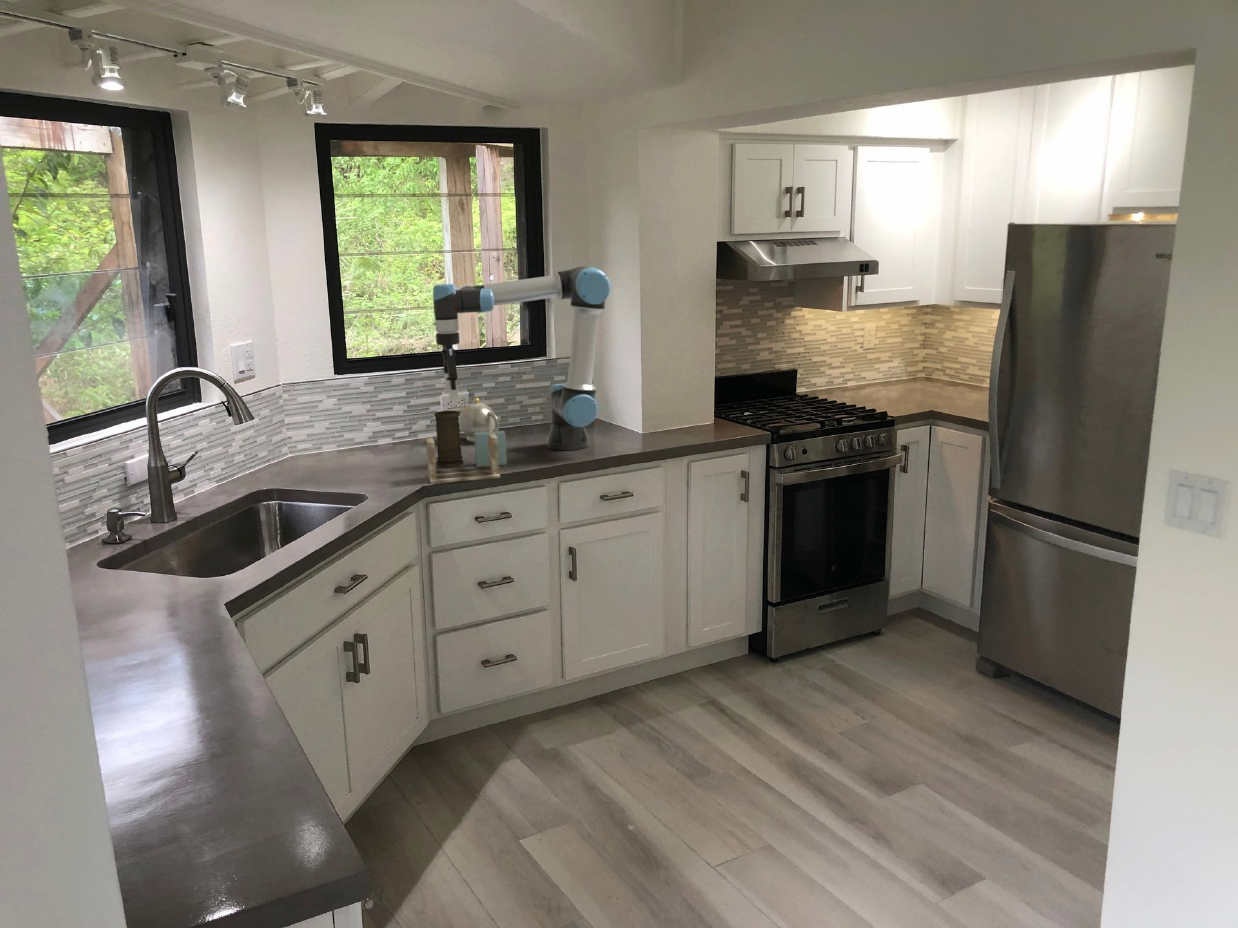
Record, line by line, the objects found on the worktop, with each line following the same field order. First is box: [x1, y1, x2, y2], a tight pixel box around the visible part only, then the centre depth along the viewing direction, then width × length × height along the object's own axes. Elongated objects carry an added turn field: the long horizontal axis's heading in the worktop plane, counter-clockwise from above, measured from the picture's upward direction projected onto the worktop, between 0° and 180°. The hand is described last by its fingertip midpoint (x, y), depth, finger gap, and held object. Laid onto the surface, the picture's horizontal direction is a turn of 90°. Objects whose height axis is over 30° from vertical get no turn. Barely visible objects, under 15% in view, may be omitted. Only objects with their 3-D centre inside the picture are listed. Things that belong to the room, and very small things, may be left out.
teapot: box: [458, 397, 500, 444], centre depth 362 cm, size 18×14×16 cm
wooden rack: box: [425, 433, 501, 484], centre depth 313 cm, size 22×11×13 cm, turn 106°
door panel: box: [474, 430, 508, 467], centre depth 328 cm, size 10×4×11 cm, turn 106°
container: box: [434, 410, 464, 468], centre depth 328 cm, size 9×9×18 cm
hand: (451, 396), depth 323 cm, fingers open, 13 cm apart
